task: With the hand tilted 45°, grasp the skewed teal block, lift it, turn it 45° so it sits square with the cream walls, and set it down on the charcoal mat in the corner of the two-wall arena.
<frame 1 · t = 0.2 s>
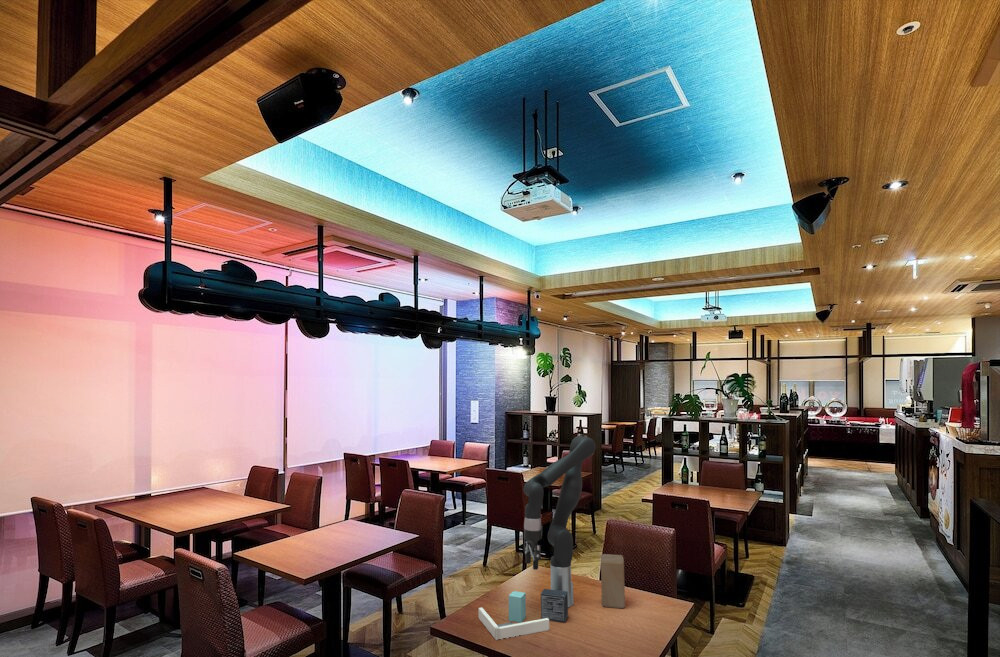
hand: (531, 566, 233), 18 cm above the table, tool pointing down, fingers open, 8 cm apart
block: (613, 604, 237), on the table
small box: (554, 618, 223), on the table
arena: (507, 628, 214), on the table
teal block: (517, 619, 222), on the table
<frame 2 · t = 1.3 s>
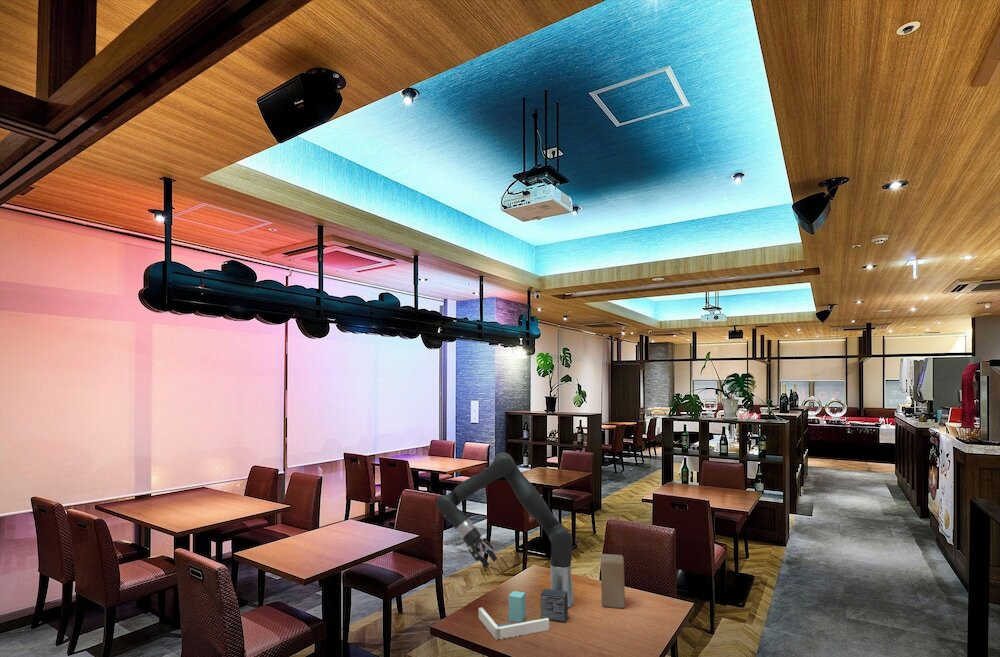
hand: (491, 563, 229), 21 cm above the table, tool tilted 45°, fingers open, 8 cm apart
nothing on the table moved.
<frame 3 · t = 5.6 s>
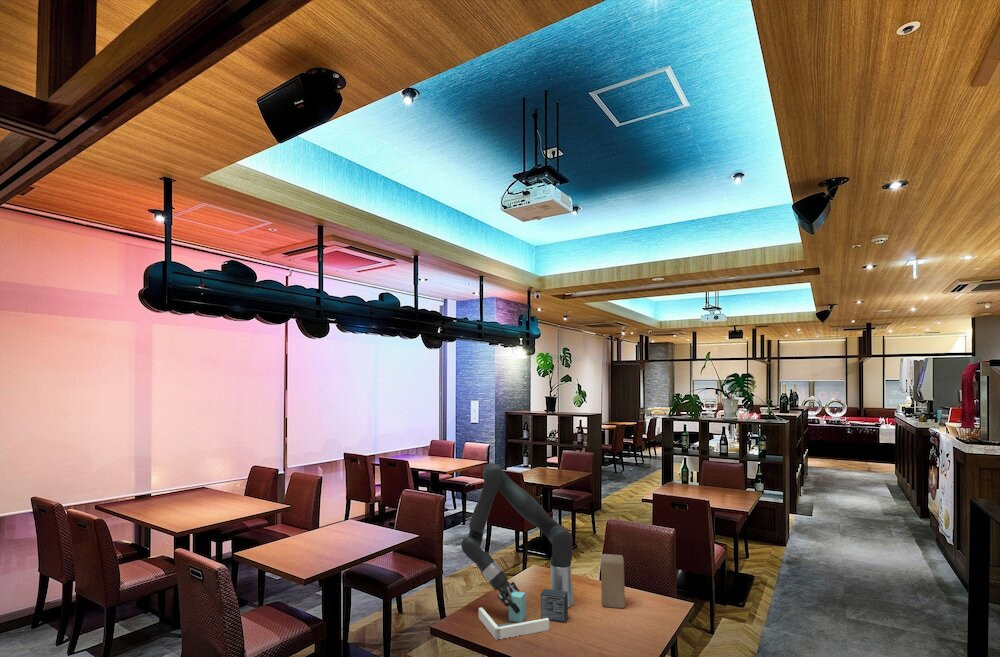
hand: (521, 609, 222), 4 cm above the table, tool tilted 45°, fingers closed on teal block, 5 cm apart
teal block: (517, 619, 222), on the table, touching gripper
everything else where it was.
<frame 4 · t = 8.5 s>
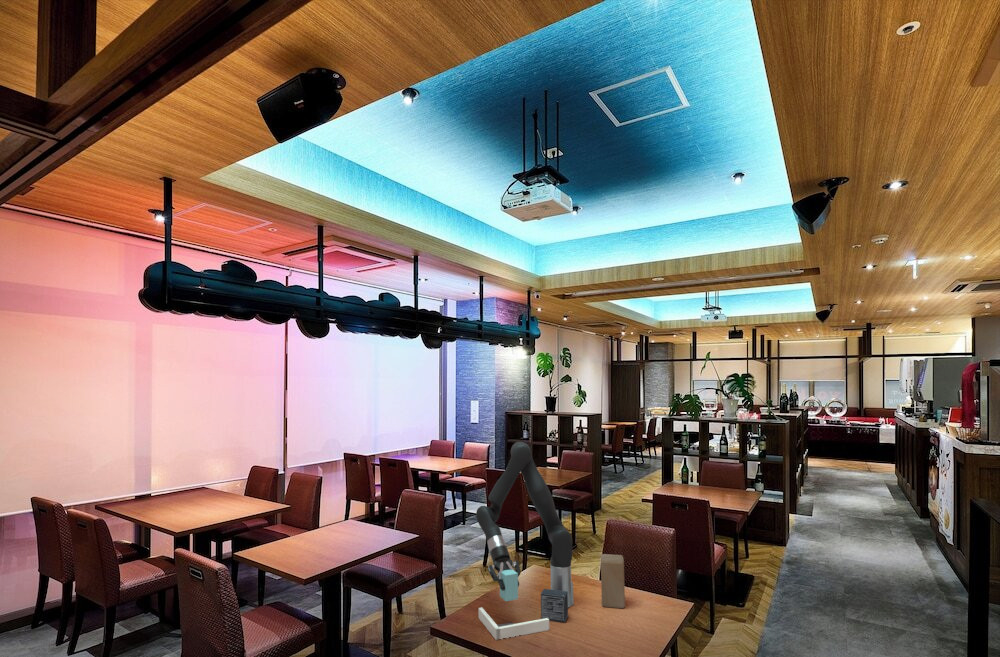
hand: (510, 588, 214), 16 cm above the table, tool tilted 45°, fingers closed on teal block, 5 cm apart
teal block: (508, 597, 215), point 12 cm above the table, touching gripper
everything else where it was.
when the fingers open (6 cm above the table, at t = 11.7 s): teal block drops 1 cm, resting on arena.
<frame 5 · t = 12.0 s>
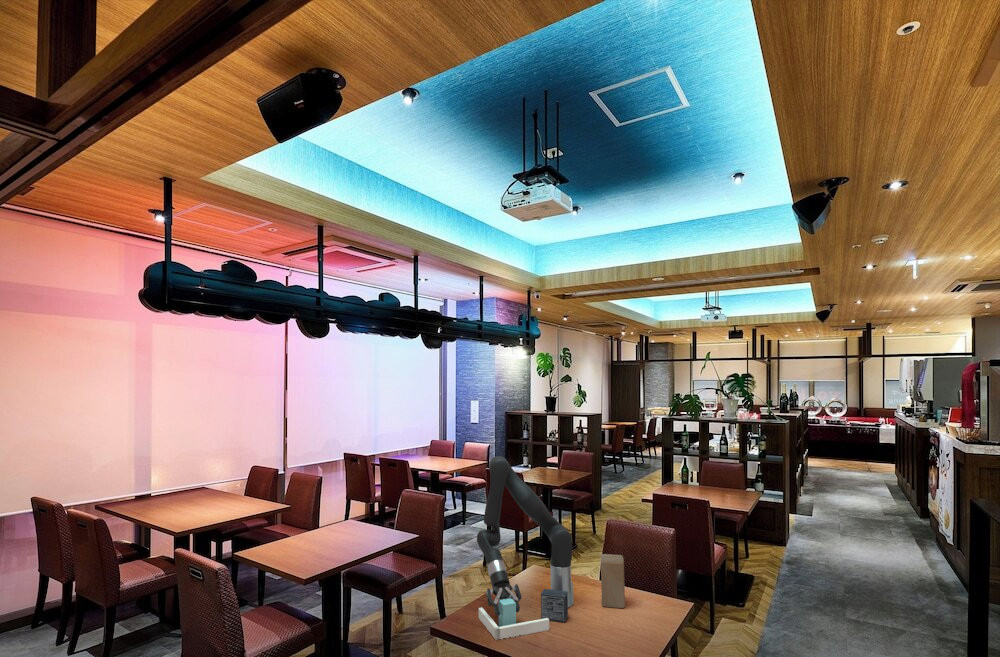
hand: (508, 613, 213), 6 cm above the table, tool tilted 45°, fingers open, 8 cm apart
teal block: (507, 627, 214), resting on arena
everything else where it was.
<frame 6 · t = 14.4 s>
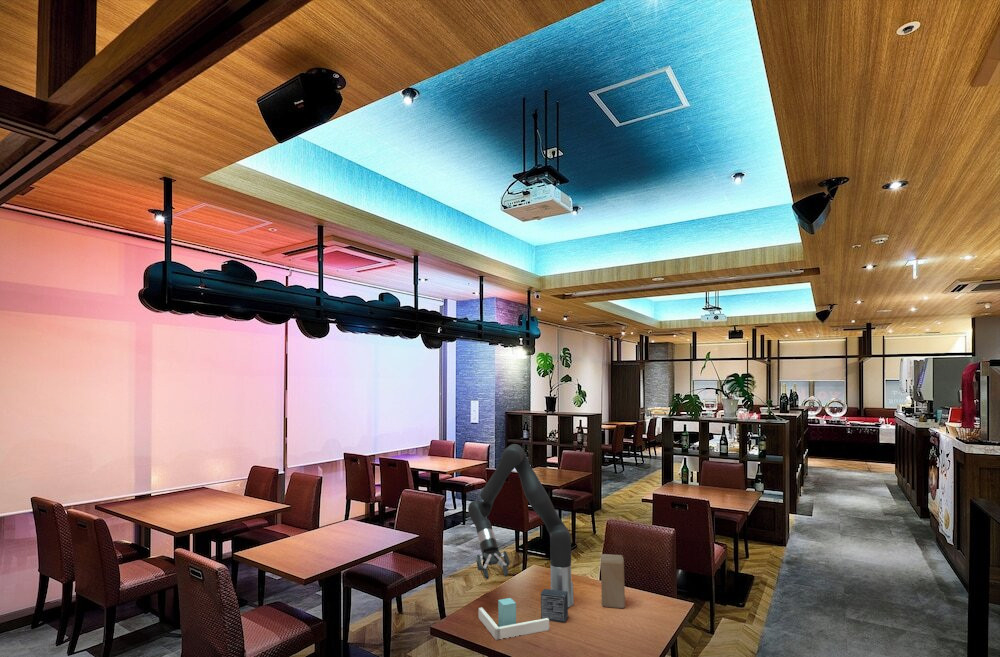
hand: (497, 577, 226), 16 cm above the table, tool tilted 45°, fingers open, 8 cm apart
nothing on the table moved.
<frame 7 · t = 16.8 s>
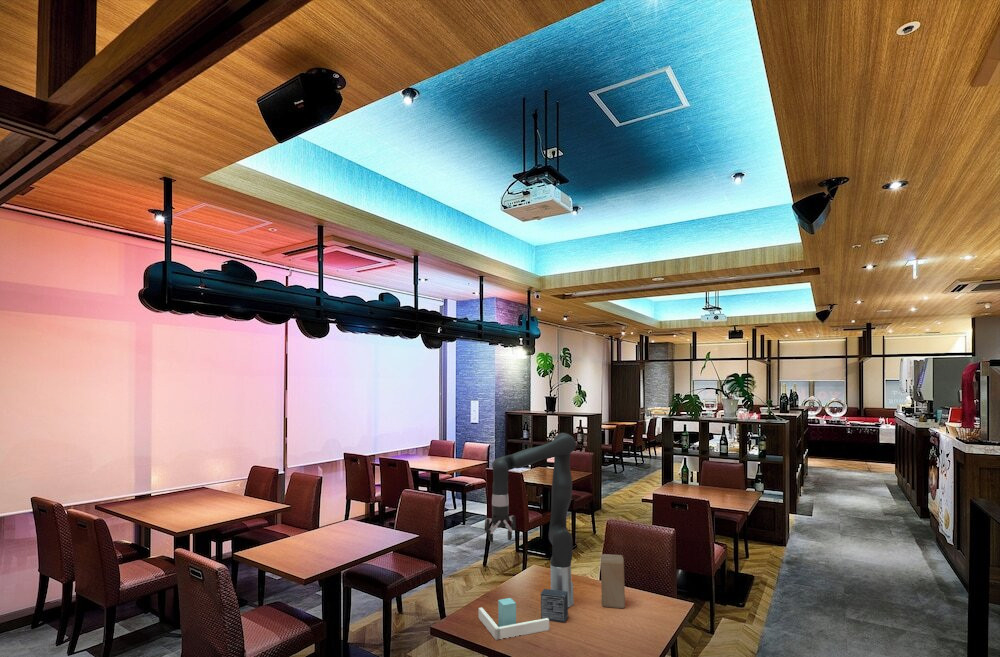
hand: (500, 541, 237), 28 cm above the table, tool pointing down, fingers open, 8 cm apart
nothing on the table moved.
at the end: teal block 0.0 cm off-centre on the arena, point 0.3 cm above the arena's base; teal block tilted 0°; the gripper is holding nothing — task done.
